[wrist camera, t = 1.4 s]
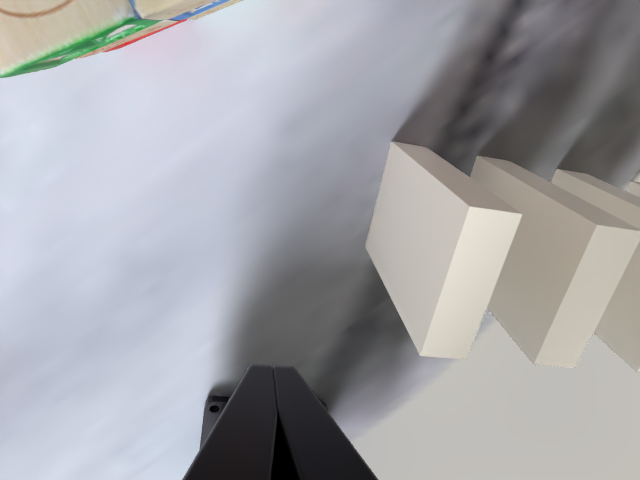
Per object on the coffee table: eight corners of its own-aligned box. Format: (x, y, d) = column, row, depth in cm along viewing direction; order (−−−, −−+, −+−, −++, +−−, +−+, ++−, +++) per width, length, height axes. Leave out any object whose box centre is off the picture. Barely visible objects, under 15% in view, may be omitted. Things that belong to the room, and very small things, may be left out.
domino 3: (546, 268, 23) (675, 375, 16) (518, 264, 23) (636, 372, 16) (586, 173, 22) (753, 247, 14) (556, 168, 21) (710, 241, 14)
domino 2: (474, 259, 23) (575, 367, 16) (444, 256, 22) (533, 364, 15) (509, 160, 21) (643, 231, 14) (476, 155, 20) (597, 224, 13)
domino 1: (397, 250, 22) (467, 359, 15) (364, 246, 22) (420, 355, 14) (426, 146, 20) (522, 213, 13) (391, 141, 20) (469, 206, 12)
